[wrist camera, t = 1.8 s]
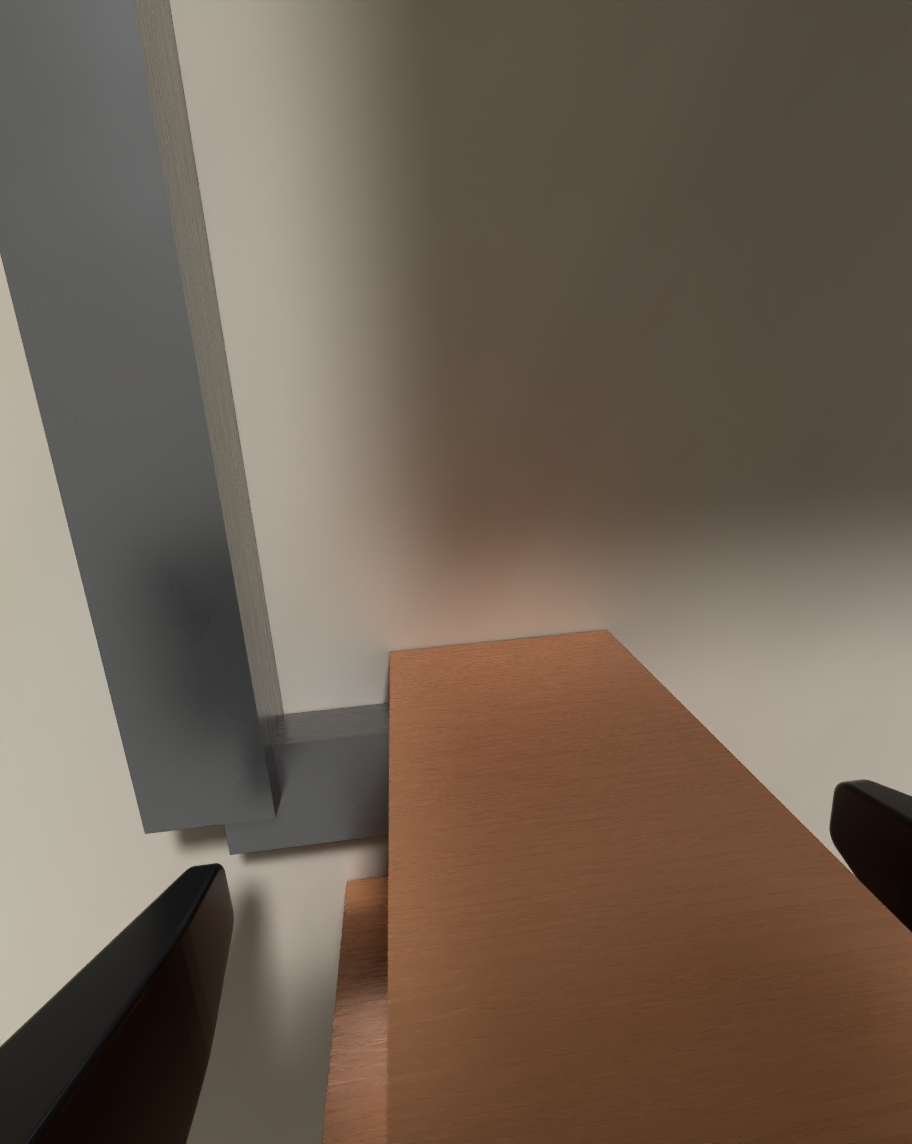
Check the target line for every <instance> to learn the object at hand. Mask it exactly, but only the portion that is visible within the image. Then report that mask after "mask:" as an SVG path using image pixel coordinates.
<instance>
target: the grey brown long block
mask: <svg viewBox="0 0 912 1144" xmlns="http://www.w3.org/2000/svg"><path fill="white" fill-rule="evenodd" d="M0 254H1V258H2V262H3V266H4V270H5V274H6V278H7V282H8V286H9V290H10V294H11V298H12V302H13V306H14V310H15V314H16V318H17V322H18V326H19V330H20V334H21V338H22V342H23V346H24V350H25V354H26V358H27V362H28V366H29V370H30V374H31V378H32V382H33V386H34V390H35V394H36V398H37V402H38V406H39V410H40V414H41V418H42V422H43V426H44V430H45V434H46V438H47V442H48V446H49V450H50V454H51V458H52V462H53V466H54V470H55V474H56V478H57V482H58V486H59V490H60V494H61V498H62V502H63V506H64V511H65V515H66V519H67V523H68V527H69V531H70V535H71V539H72V543H73V547H74V551H75V555H76V559H77V563H78V567H79V571H80V575H81V579H82V583H83V587H84V591H85V595H86V599H87V603H88V607H89V611H90V615H91V619H92V623H93V627H94V631H95V635H96V639H97V643H98V647H99V651H100V655H101V659H102V663H103V667H104V671H105V675H106V679H107V683H108V687H109V691H110V695H111V699H112V703H113V707H114V711H115V715H116V719H117V723H118V727H119V731H120V735H121V739H122V743H123V747H124V751H125V755H126V759H127V763H128V767H129V771H130V775H131V779H132V783H133V787H134V791H135V795H136V799H137V803H138V807H139V811H140V815H141V819H142V823H143V827H144V831H145V834H148V833H156V832H164V831H172V830H181V829H189V828H197V827H205V826H213V825H221V824H224V827H225V832H226V837H227V842H228V846H229V851H230V855H233V854H241V853H248V852H256V851H264V850H272V849H280V848H287V847H295V846H303V845H311V844H319V843H326V842H334V841H342V840H350V839H357V838H365V837H373V836H381V835H389V867H388V876H384V877H377V878H369V879H362V880H354V881H347V886H346V896H345V906H344V917H343V927H342V938H341V948H340V959H339V969H338V980H337V990H336V1001H335V1011H334V1022H333V1032H332V1043H331V1053H330V1064H329V1074H328V1085H327V1095H326V1105H325V1116H324V1126H323V1137H322V1144H912V932H911V931H910V930H909V929H908V928H907V927H906V926H905V925H904V924H903V923H902V922H901V921H900V920H899V919H898V918H897V917H896V916H895V915H893V914H892V913H891V912H890V911H889V910H888V909H887V908H886V907H885V906H884V905H883V904H882V903H881V902H880V901H879V900H878V899H877V898H876V897H875V896H874V895H873V894H872V893H871V892H870V891H869V890H868V889H867V888H866V887H865V886H864V885H863V884H862V883H861V882H860V881H859V880H858V879H857V878H856V877H855V876H854V875H853V874H852V873H851V872H850V871H849V870H848V869H847V868H846V867H845V866H844V865H843V864H842V863H841V862H840V861H839V860H838V859H837V858H836V857H835V856H834V855H833V854H832V853H831V852H830V851H829V850H828V849H827V848H826V847H825V846H824V845H823V844H822V843H821V842H820V841H819V840H818V839H817V838H816V837H815V836H814V835H813V834H812V833H811V832H810V831H809V830H808V829H807V828H806V827H805V826H804V825H803V824H802V823H801V822H800V821H799V820H798V819H797V818H796V817H795V816H794V815H793V814H792V813H791V812H790V811H789V810H788V809H787V808H786V807H785V806H784V805H783V804H782V803H781V802H780V801H779V800H778V799H777V798H776V797H775V796H774V795H773V794H772V793H771V792H770V791H769V790H768V789H767V788H766V787H765V786H764V785H763V784H762V783H761V782H760V781H759V780H758V779H757V778H756V777H755V776H754V775H753V774H752V773H751V772H750V771H749V770H748V769H747V768H746V767H745V766H744V765H743V764H742V763H741V762H740V761H739V760H738V759H737V758H736V757H735V756H734V755H733V754H732V753H731V752H730V751H729V750H728V749H727V748H726V747H725V746H724V745H723V744H722V743H721V742H720V741H719V740H718V739H717V738H716V737H715V736H714V735H713V734H712V733H711V732H710V731H709V730H708V729H707V728H706V727H705V726H704V725H703V724H702V723H701V722H700V721H699V720H698V719H697V718H696V717H695V716H694V715H693V714H692V713H691V712H690V711H689V710H688V709H687V708H686V707H685V706H684V705H683V704H682V703H681V702H679V701H678V700H677V699H676V698H675V697H674V696H673V695H672V694H671V693H670V692H669V691H668V690H667V689H666V688H665V687H664V686H663V685H662V684H661V683H660V682H659V681H658V680H657V679H656V678H655V677H654V676H653V675H652V674H651V673H650V672H649V671H648V670H647V669H646V668H645V667H644V666H643V665H642V664H641V663H640V662H639V661H638V660H637V659H636V658H635V657H634V656H633V655H632V654H631V653H630V652H629V651H628V650H627V649H626V648H625V647H624V646H623V645H622V644H621V643H620V642H619V641H618V640H617V639H616V638H615V637H614V636H613V635H612V634H611V633H610V632H609V631H608V630H602V631H592V632H582V633H572V634H562V635H553V636H543V637H533V638H523V639H513V640H503V641H493V642H483V643H473V644H463V645H453V646H443V647H433V648H424V649H414V650H404V651H394V652H390V703H385V704H376V705H366V706H357V707H348V708H339V709H330V710H320V711H311V712H302V713H293V714H283V708H282V702H281V695H280V689H279V683H278V677H277V671H276V664H275V658H274V652H273V646H272V639H271V633H270V627H269V621H268V615H267V608H266V602H265V596H264V590H263V583H262V577H261V571H260V565H259V558H258V552H257V546H256V540H255V534H254V527H253V521H252V515H251V509H250V502H249V496H248V490H247V484H246V478H245V471H244V465H243V459H242V453H241V446H240V440H239V434H238V428H237V421H236V415H235V409H234V403H233V397H232V390H231V384H230V378H229V372H228V365H227V359H226V353H225V347H224V341H223V334H222V328H221V322H220V316H219V309H218V303H217V297H216V291H215V284H214V278H213V272H212V266H211V260H210V253H209V247H208V241H207V235H206V228H205V222H204V216H203V210H202V204H201V197H200V191H199V185H198V179H197V172H196V166H195V160H194V154H193V148H192V141H191V135H190V129H189V123H188V116H187V110H186V104H185V98H184V91H183V85H182V79H181V73H180V67H179V60H178V54H177V48H176V42H175V35H174V29H173V23H172V17H171V11H170V4H169V0H0Z"/></svg>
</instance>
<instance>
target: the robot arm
mask: <svg viewBox="0 0 912 1144" xmlns="http://www.w3.org/2000/svg"><path fill="white" fill-rule="evenodd" d="M829 829H830V835H831V838H832V841H833V843H834V845H835V847H836V848H837V850H838V851H839V853H840V854H841V856H842V857H843V859H844V860H845V862H846V863H847V864H848V866H849V867H850V869H851V870H852V872H853V873H854V875H855V876H856V878H857V879H858V880H859V881H860V882H861V883H862V884H863V885H864V886H865V887H866V888H867V889H868V890H869V891H870V892H871V893H872V894H873V895H874V896H875V897H876V898H877V899H878V900H879V901H880V902H881V903H882V904H883V905H884V906H885V907H886V908H887V909H888V910H889V911H890V912H891V913H892V914H893V915H895V916H896V917H897V918H898V919H899V920H900V921H901V922H902V923H903V924H904V925H905V926H906V927H907V928H908V929H909V930H910V931H911V932H912V796H910V795H907V794H904V793H902V792H899V791H896V790H894V789H891V788H888V787H886V786H883V785H880V784H878V783H875V782H873V781H869V780H854V781H846V782H841V783H839V784H838V785H837V786H836V788H835V790H834V796H833V804H832V811H831V819H830V828H829ZM233 923H234V915H233V907H232V903H231V898H230V893H229V888H228V883H227V879H226V874H225V870H224V868H223V867H222V865H220V864H218V863H215V864H207V865H200V866H194V867H191V868H189V869H188V870H186V871H185V872H184V873H183V874H182V875H181V876H180V877H179V878H178V879H177V880H176V881H174V882H173V883H172V884H171V885H170V886H169V887H168V888H167V889H166V890H165V891H164V892H163V893H162V894H161V895H160V896H159V897H158V898H157V899H155V900H154V901H153V902H152V903H151V904H150V905H149V906H148V907H147V908H146V909H145V910H144V911H143V912H142V913H141V914H140V915H139V916H138V917H137V918H135V919H134V920H133V921H132V922H131V923H130V924H129V925H128V926H127V927H126V928H125V929H124V930H123V931H122V932H121V933H120V934H119V935H118V936H116V937H115V938H114V939H113V940H112V941H111V942H110V943H109V944H108V945H107V946H106V947H105V948H104V949H103V950H102V951H101V952H100V953H99V954H98V955H96V956H95V957H94V958H93V959H92V960H91V961H90V962H89V963H88V964H87V965H86V966H85V967H84V968H83V969H82V970H81V971H80V972H79V973H77V974H76V975H75V976H74V977H73V978H72V979H71V980H70V981H69V982H68V983H67V984H66V985H65V986H64V987H63V988H62V989H61V990H60V991H59V992H57V993H56V994H55V995H54V996H53V997H52V998H51V999H50V1000H49V1001H48V1002H47V1003H46V1004H45V1005H44V1006H43V1007H42V1008H41V1009H40V1010H38V1011H37V1012H36V1013H35V1014H34V1015H33V1016H32V1017H31V1018H30V1019H29V1020H28V1021H27V1022H26V1023H25V1024H24V1025H23V1026H22V1027H21V1028H19V1029H18V1030H17V1031H16V1032H15V1033H14V1034H13V1035H12V1036H11V1037H10V1038H9V1039H8V1040H7V1041H6V1042H5V1043H4V1044H3V1045H2V1046H1V1047H0V1144H186V1142H187V1139H188V1135H189V1132H190V1128H191V1124H192V1121H193V1117H194V1114H195V1110H196V1106H197V1103H198V1099H199V1096H200V1092H201V1088H202V1085H203V1081H204V1077H205V1073H206V1070H207V1066H208V1062H209V1058H210V1053H211V1048H212V1043H213V1038H214V1032H215V1027H216V1021H217V1016H218V1010H219V1004H220V999H221V993H222V988H223V982H224V976H225V971H226V965H227V960H228V954H229V949H230V943H231V937H232V932H233Z"/></svg>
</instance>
